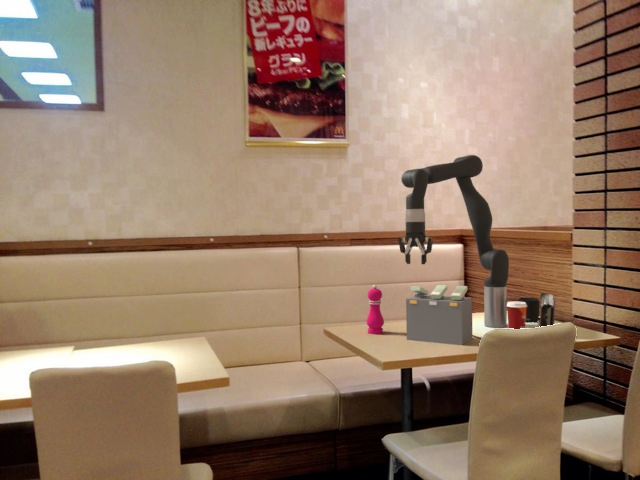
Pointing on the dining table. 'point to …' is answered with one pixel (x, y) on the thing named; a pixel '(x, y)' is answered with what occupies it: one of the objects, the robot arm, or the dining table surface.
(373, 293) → the pepper mill
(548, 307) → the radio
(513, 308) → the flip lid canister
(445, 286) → the block
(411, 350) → the dining table surface
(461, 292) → the rocker
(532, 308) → the pen holder
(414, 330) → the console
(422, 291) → the block
